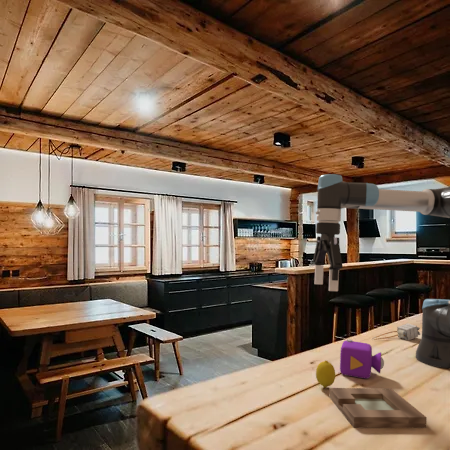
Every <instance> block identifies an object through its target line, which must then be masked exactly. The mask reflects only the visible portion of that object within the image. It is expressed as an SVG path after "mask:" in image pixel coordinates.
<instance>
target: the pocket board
mask: <svg viewBox="0 0 450 450" xmlns="http://www.w3.org/2000/svg"><path fill="white" fill-rule="evenodd" d="M328 390H329V391H328V393H329V394H328V397H329V399H330V400H331V401H332V402H333V404H334V405H335V407H336V408H337V409H338V410H339V411H340V412H341V414H342V415H343V416H344V417H345V418H346V420H347V421H348V422H349V424H350V425H351V426H352V428H354V429H355V428H356V429H357V428H359V429H360V428H361V429H362V428H365V429H366V428H367V429H372V428H373V429H377V428H379V429H382V428H384V429H385V428H386V429H389V428H391V429H392V428H393V429H394V428H395V429H397V428H398V429H399V428H401V429H405V428H408V429H410V428H411V429H412V428H413V429H417V428H419V429H423V428H424V429H425V428H427V416H426V415H424V414H423V413H422V412H421V411H419V410H418V409H417V408H416V407H415V406H414V405H413V404H411V403H410V402H408V401H407V400H406V399H405V398H403V396H401V395H400V394H398V392H397V391H395V390H393V389H392V388H384V387H383V388H382V387H381V388H377V387H376V388H374V387H370V388H369V387H367V388H365V387H362V388H361V387H358V388H357V387H356V388H355V387H329V389H328Z"/></svg>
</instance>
